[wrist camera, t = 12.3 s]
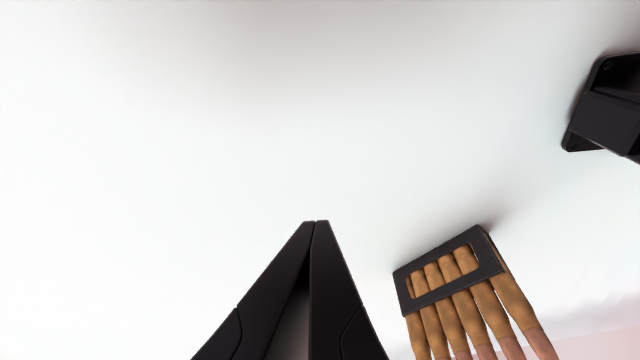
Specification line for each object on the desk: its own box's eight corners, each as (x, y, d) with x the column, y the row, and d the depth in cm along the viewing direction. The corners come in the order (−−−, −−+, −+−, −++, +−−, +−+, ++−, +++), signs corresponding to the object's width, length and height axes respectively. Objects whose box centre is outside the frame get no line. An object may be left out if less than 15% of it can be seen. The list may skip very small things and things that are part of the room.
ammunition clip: (402, 279, 29) (433, 416, 19) (391, 272, 29) (417, 409, 19) (488, 233, 24) (589, 385, 14) (477, 223, 24) (574, 374, 14)
